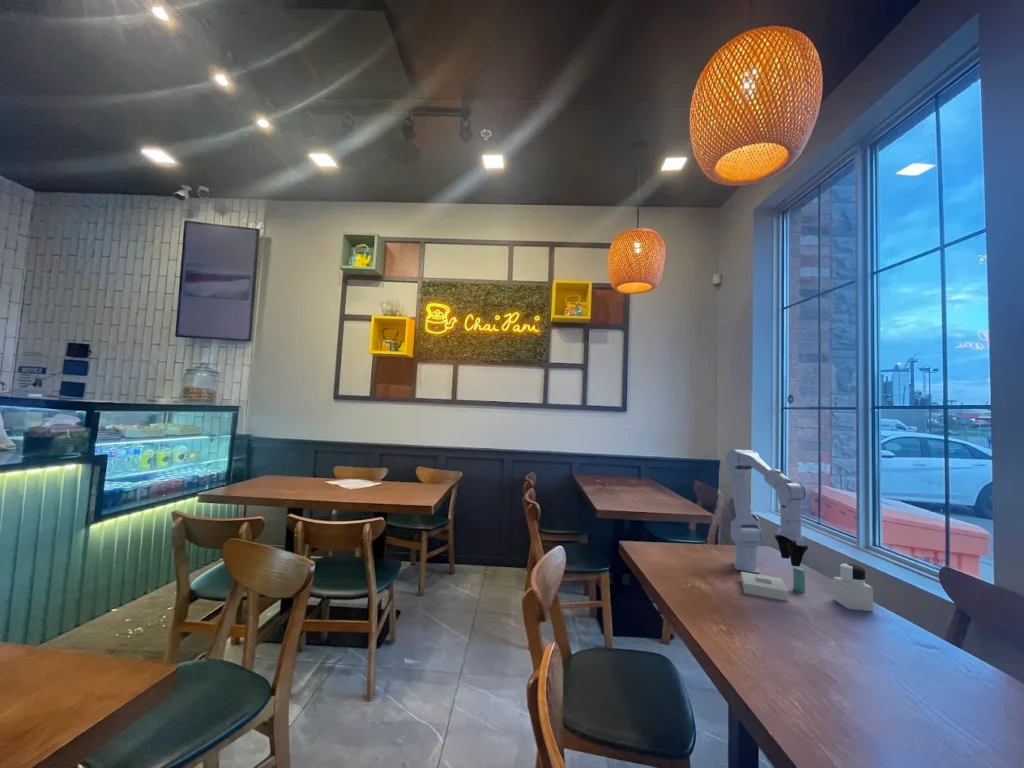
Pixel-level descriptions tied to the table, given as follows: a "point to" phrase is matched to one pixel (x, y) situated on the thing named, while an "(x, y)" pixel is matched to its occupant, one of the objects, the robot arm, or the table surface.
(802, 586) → the peg
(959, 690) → the table surface
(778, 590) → the socket slab
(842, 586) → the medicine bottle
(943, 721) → the table surface
